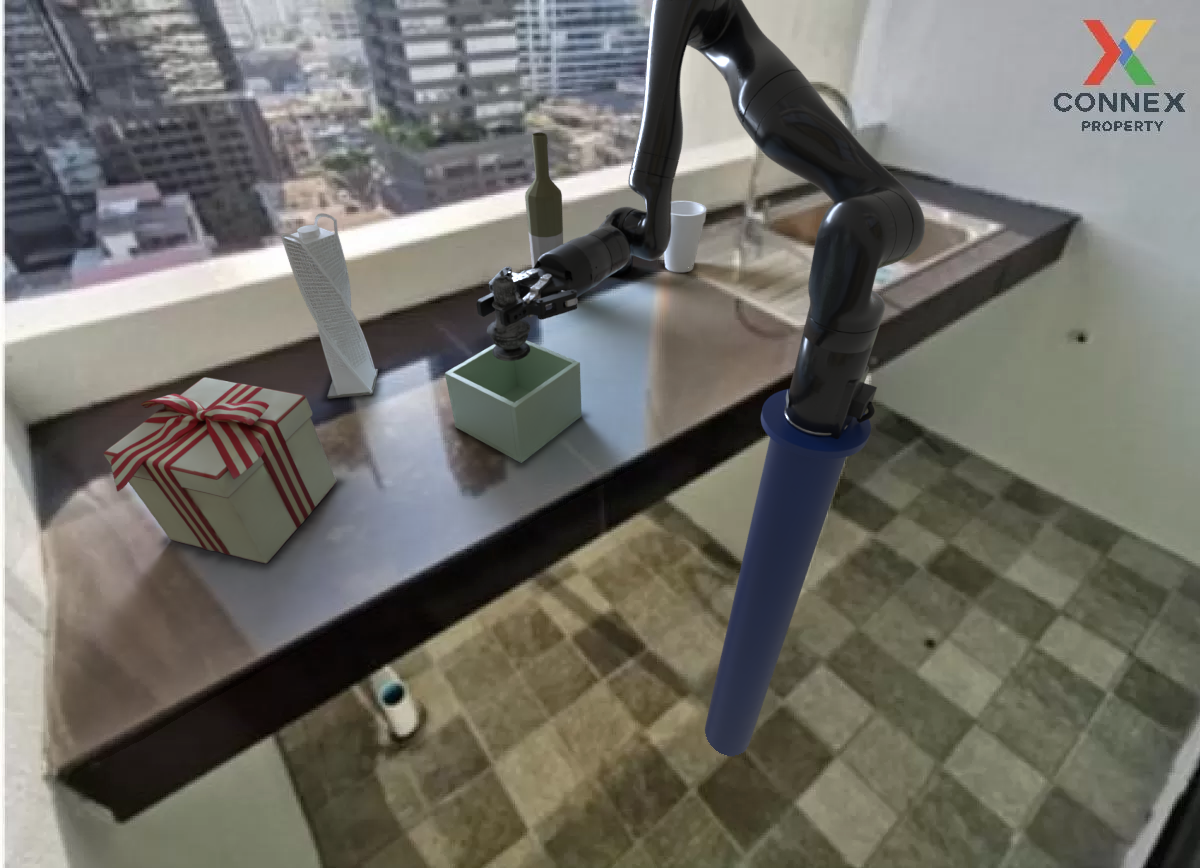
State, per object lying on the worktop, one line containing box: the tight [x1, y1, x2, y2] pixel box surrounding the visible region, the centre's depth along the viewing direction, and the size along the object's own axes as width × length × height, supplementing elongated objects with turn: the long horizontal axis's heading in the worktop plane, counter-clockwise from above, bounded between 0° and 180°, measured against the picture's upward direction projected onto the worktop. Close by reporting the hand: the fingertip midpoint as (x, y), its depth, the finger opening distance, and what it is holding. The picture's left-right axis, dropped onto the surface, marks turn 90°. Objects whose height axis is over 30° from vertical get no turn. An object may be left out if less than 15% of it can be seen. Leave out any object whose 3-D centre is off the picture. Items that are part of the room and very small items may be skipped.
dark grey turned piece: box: [486, 269, 531, 361], centre depth 81 cm, size 6×6×12 cm
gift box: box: [103, 377, 337, 564], centre depth 71 cm, size 17×18×17 cm
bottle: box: [524, 132, 564, 269], centre depth 118 cm, size 7×7×30 cm
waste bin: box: [444, 339, 583, 464], centre depth 89 cm, size 14×14×10 cm
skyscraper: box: [281, 212, 379, 399], centre depth 91 cm, size 8×8×28 cm
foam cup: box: [663, 200, 707, 273], centre depth 131 cm, size 10×9×13 cm
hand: (491, 314), depth 78 cm, fingers closed on dark grey turned piece, 3 cm apart
